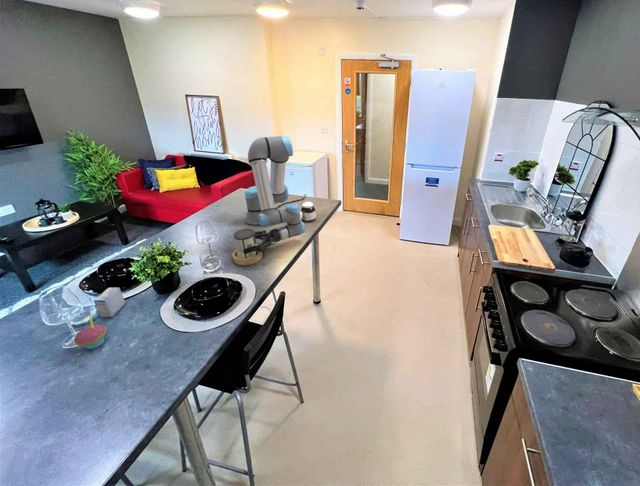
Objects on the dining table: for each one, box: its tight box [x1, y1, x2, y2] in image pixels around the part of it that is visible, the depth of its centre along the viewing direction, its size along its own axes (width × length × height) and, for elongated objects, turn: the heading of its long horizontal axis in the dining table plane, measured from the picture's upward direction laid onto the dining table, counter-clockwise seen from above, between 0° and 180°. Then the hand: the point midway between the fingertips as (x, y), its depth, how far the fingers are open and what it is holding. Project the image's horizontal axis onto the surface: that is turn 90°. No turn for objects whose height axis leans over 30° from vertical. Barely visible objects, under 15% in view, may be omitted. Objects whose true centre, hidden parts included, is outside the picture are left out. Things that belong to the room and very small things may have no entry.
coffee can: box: [232, 228, 258, 259], centre depth 152 cm, size 10×10×14 cm
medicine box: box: [93, 287, 126, 318], centre depth 116 cm, size 8×4×9 cm, turn 5°
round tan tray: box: [231, 248, 263, 266], centre depth 155 cm, size 15×15×4 cm
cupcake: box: [73, 314, 108, 350], centre depth 101 cm, size 9×8×12 cm
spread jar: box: [300, 201, 317, 223], centre depth 196 cm, size 12×11×12 cm
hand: (239, 246), depth 150 cm, fingers open, 13 cm apart
